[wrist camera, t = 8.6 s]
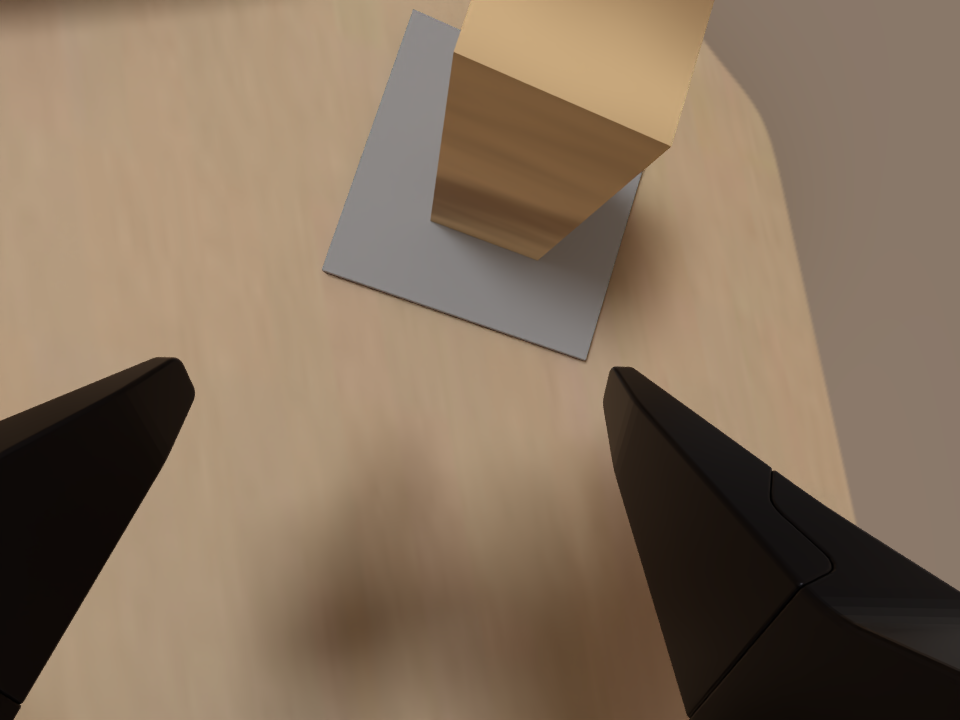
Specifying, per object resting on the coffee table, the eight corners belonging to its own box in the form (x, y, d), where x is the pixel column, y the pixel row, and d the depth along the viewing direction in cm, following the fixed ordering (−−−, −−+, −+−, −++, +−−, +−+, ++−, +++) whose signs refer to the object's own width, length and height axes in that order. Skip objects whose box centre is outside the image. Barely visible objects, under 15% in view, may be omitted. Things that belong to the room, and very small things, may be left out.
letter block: (537, 260, 19) (671, 146, 9) (430, 220, 19) (453, 51, 9) (570, 155, 20) (732, -61, 10) (466, 111, 19) (528, -169, 9)
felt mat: (582, 360, 20) (585, 360, 20) (323, 271, 18) (321, 269, 18) (653, 122, 21) (658, 118, 20) (413, 16, 19) (413, 8, 19)
